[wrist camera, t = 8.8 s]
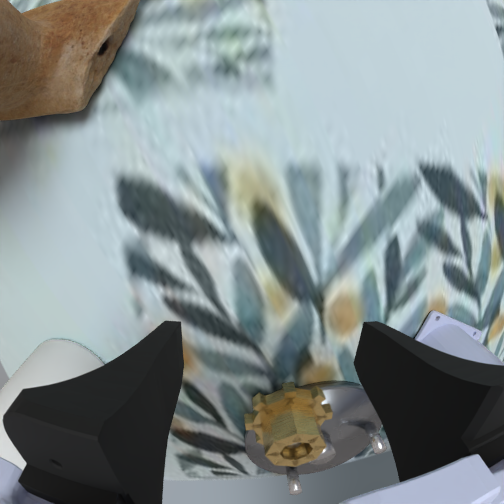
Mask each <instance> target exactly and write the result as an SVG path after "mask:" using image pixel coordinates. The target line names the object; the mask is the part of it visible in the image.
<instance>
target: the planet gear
mask: <svg viewBox="0 0 504 504" xmlns="http://www.w3.org/2000/svg"><path fill="white" fill-rule="evenodd" d="M325 399H326V398H325V395H324V392H323V390H322V389H320V388H319V387H317V386H314V387H313V388H312V389H311V390H305V389H299V388H295V386H294V382H289V383H282V389H281V390H279V391H276V392H274V393H271V394H269V395H266V396H265V395H263V394H261V393H258V394H257V395H256V396H255V397H253V398H252V404H253V409H254V410H253V412H252V413H251V414H244V415H245V427H246V430H254V431H255V435H256V442H258V443H260V444H262V445H264V450H265V456H266V457H267V458H268V459H269V460H270V461H271V462H272V463H273V464H274V465H278V466H293V467H296V466H299V465H301V464H304V463H307V462H310V461H312V460H315V459H317V458H318V456H319V455H320V454H321V453H322V452H323V450H324V449H325V448H326V447H327V446H326V442H325V439H324V436H323V433H322V430H321V427H320V426H321V425H322V423H323V422H324V421H325V420H329V419H332V415H333V411H332V409H331V406H330V404H329V403H327V404H322V402H323V401H324V400H325ZM296 442H301V444H300V446H298V447H296V448H288V447H286V446H288V445H291V444H293V443H296Z"/></svg>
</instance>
